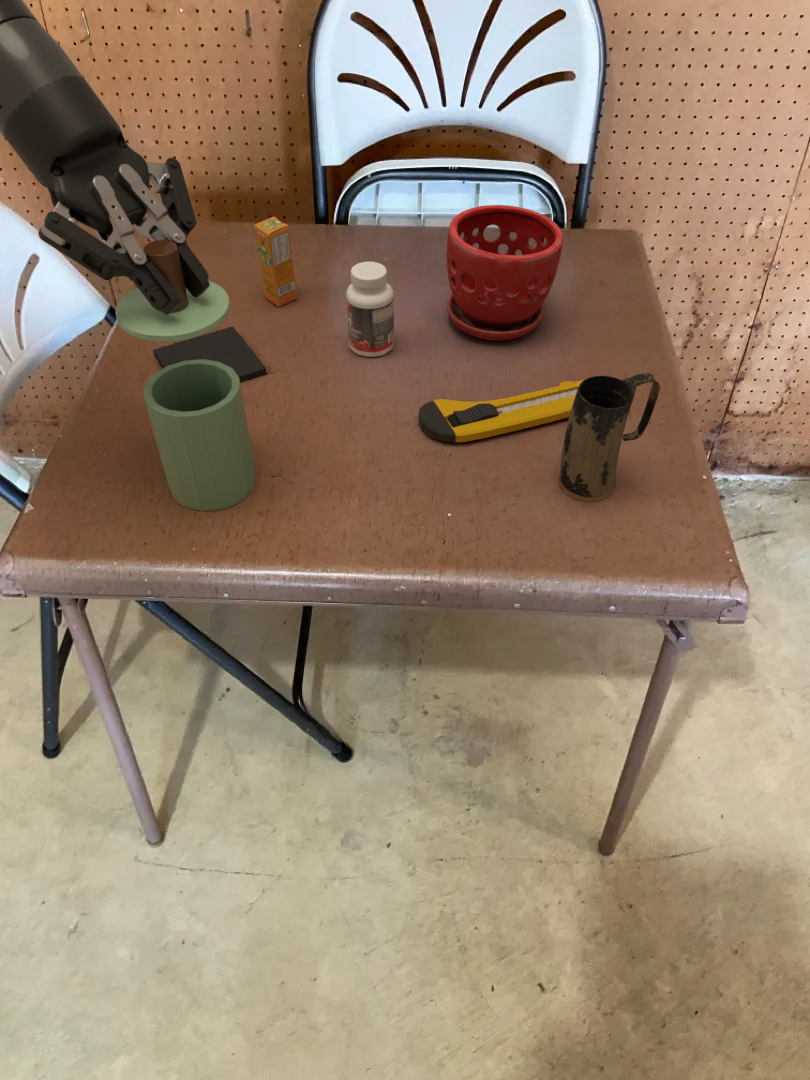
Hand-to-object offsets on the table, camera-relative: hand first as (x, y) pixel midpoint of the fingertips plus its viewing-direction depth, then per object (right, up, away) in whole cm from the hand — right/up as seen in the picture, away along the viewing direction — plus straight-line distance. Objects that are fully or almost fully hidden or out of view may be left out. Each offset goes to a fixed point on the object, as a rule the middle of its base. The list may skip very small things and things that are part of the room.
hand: (188, 299), depth 68 cm
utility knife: (+30, -5, +24) cm, 39 cm away
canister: (-2, -14, +16) cm, 21 cm away
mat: (-5, +1, +30) cm, 30 cm away
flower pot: (+29, +8, +36) cm, 47 cm away
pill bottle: (+13, +4, +32) cm, 35 cm away
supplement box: (+2, +11, +40) cm, 41 cm away
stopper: (-2, 0, +2) cm, 3 cm away
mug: (+36, -14, +16) cm, 42 cm away
